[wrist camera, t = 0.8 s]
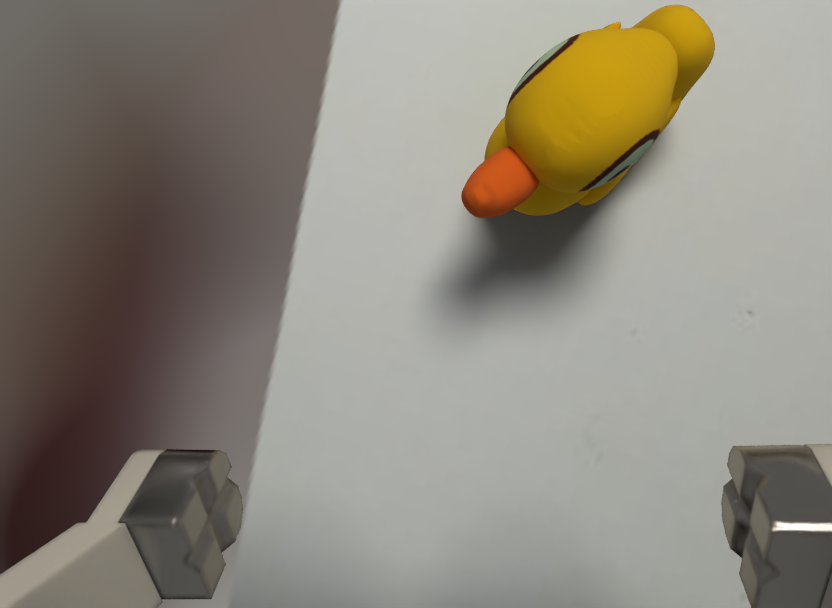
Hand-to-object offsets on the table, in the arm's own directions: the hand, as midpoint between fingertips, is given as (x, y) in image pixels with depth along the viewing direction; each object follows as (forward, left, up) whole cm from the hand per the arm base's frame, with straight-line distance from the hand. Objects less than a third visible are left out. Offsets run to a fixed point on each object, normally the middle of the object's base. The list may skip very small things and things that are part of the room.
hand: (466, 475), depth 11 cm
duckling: (+2, +11, -19) cm, 22 cm away
